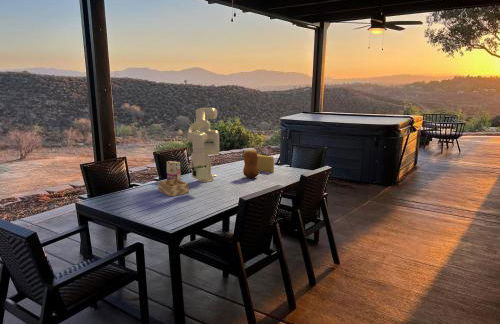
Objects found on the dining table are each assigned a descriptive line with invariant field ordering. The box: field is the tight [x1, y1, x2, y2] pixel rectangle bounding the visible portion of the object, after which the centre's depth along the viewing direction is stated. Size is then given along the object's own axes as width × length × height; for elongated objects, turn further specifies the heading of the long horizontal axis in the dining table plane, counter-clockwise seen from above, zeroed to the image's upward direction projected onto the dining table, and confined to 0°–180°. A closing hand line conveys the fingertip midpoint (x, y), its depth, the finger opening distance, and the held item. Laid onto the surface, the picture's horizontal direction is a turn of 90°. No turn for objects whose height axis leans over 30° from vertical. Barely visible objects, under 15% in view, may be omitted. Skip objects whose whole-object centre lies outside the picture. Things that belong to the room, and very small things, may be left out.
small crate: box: [191, 166, 206, 181], centre depth 255 cm, size 6×10×8 cm, turn 38°
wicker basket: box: [157, 179, 190, 197], centre depth 261 cm, size 15×19×7 cm
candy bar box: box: [165, 160, 182, 181], centre depth 292 cm, size 11×5×16 cm, turn 62°
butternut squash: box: [242, 149, 260, 180], centre depth 303 cm, size 14×13×25 cm
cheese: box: [257, 153, 275, 174], centre depth 332 cm, size 22×10×15 cm, turn 47°
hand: (198, 175), depth 256 cm, fingers closed on small crate, 6 cm apart
